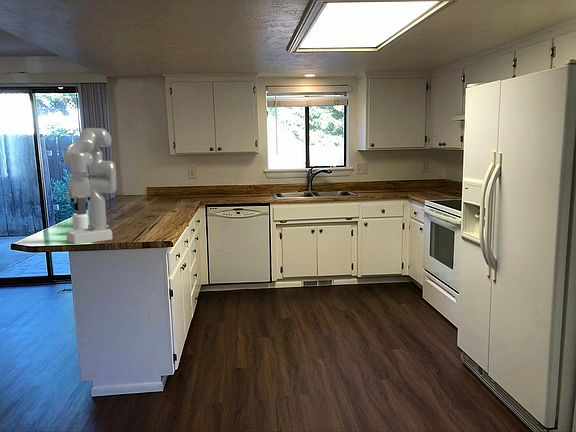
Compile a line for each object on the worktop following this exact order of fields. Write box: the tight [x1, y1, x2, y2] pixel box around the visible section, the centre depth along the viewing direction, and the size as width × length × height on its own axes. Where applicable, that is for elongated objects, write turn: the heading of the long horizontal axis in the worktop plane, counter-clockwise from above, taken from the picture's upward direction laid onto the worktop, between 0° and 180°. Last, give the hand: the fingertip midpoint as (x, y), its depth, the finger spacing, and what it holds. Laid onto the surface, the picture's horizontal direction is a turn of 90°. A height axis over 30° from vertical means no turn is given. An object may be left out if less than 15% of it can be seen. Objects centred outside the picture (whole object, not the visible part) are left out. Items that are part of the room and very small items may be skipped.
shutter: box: [89, 223, 105, 231], centre depth 252 cm, size 7×7×3 cm
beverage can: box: [71, 213, 89, 230], centre depth 266 cm, size 8×8×12 cm
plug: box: [74, 196, 87, 215], centre depth 244 cm, size 5×4×12 cm
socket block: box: [66, 227, 113, 245], centre depth 249 cm, size 12×20×6 cm, turn 134°
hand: (80, 209), depth 244 cm, fingers closed on plug, 4 cm apart
